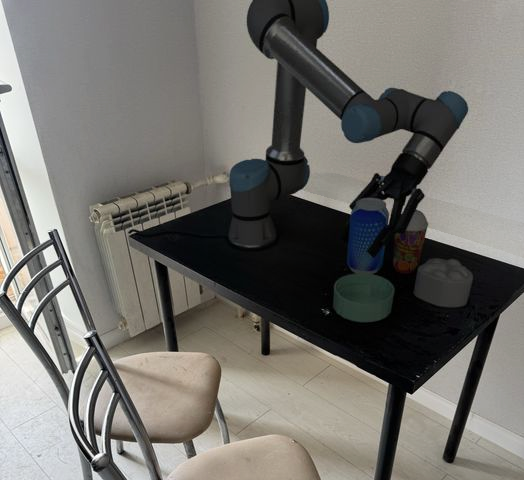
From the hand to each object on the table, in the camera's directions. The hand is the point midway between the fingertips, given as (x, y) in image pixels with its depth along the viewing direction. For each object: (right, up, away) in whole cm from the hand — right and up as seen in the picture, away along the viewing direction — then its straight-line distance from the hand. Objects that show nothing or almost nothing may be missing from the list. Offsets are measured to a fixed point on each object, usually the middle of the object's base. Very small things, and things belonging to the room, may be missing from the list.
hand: (356, 247), depth 115 cm
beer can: (+3, -4, +6) cm, 7 cm away
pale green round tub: (+4, -13, +12) cm, 18 cm away
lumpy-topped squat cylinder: (+25, -10, +15) cm, 30 cm away
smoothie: (+18, -1, +26) cm, 32 cm away
